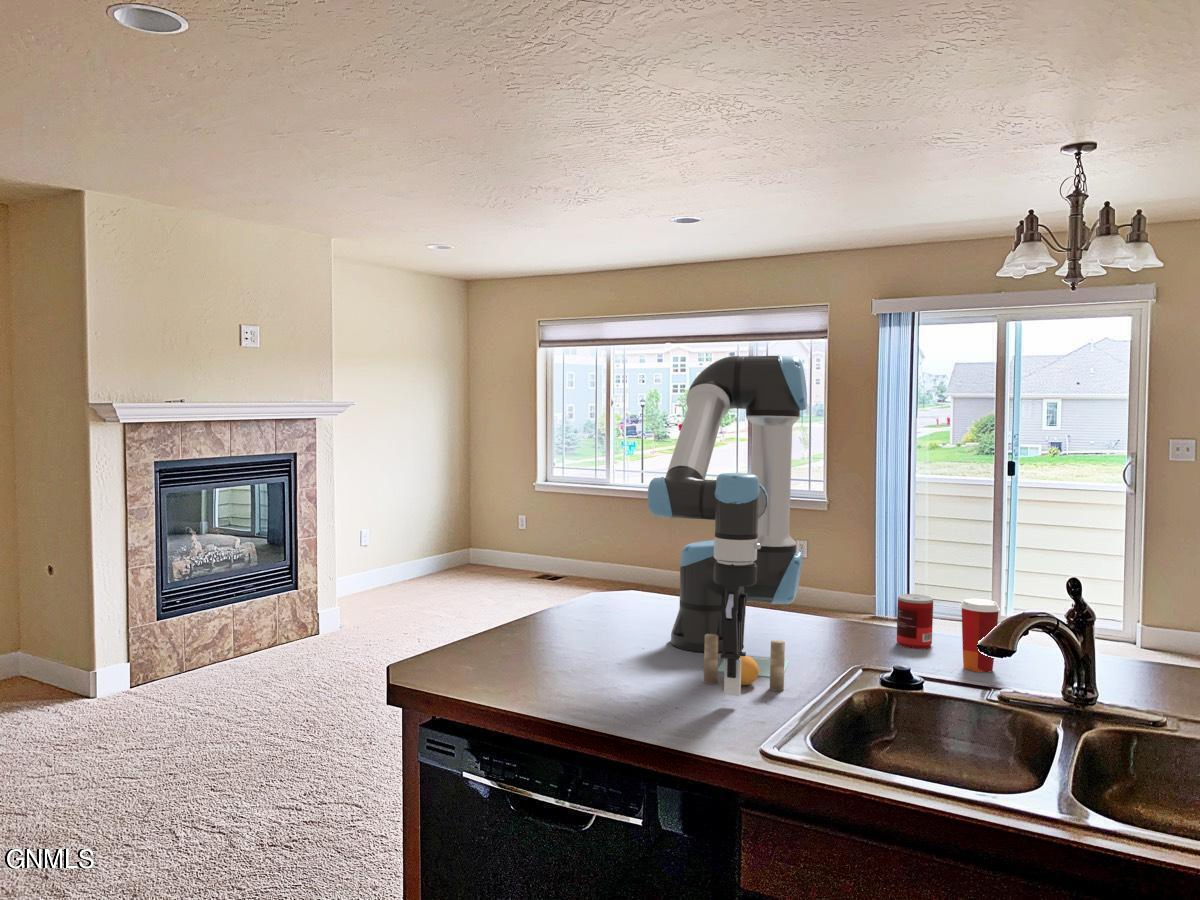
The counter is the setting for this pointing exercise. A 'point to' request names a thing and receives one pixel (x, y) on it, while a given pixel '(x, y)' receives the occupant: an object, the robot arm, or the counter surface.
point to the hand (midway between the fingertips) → (732, 693)
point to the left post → (711, 658)
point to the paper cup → (977, 632)
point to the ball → (748, 670)
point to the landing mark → (762, 666)
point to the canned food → (914, 621)
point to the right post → (777, 665)
